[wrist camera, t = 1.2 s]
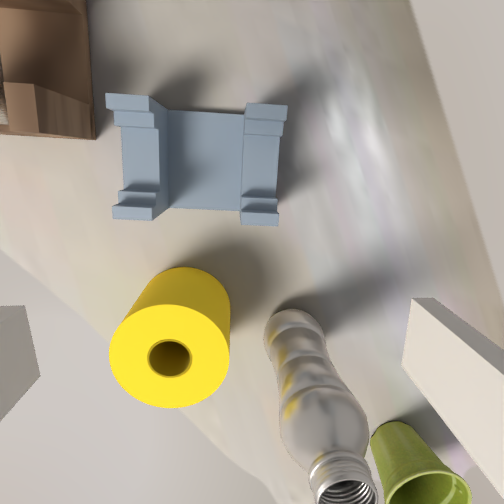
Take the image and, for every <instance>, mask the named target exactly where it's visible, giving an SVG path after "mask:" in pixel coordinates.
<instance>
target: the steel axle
mask: <svg viewBox="0 0 504 504" xmlns="http://www.w3.org/2000/svg"><path fill="white" fill-rule="evenodd" d="M3 82H4V77H3V70H2V62H1V55H0V125H9V121H8V113H7V106H6V99H5V91H4V84H3Z"/></svg>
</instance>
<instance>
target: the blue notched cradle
mask: <svg viewBox="0 0 504 504" xmlns="http://www.w3.org/2000/svg"><path fill="white" fill-rule="evenodd" d="M105 98H106V108H107V109H110V110H112V111H114V125H116V126H119V127H121V140H122V160H123V180H124V190H120V191H118V201H119V204H116V205H114V206H112V213H113V219H125V220H147V221H152V220H154V219H155V218H156V217H157V216H159V215H160V214H161V213H163V212H164V211H165V210H167V209H168V208H186V209H207V210H228V211H240V220H241V225H259V226H278V222H279V213H278V212H277V202H278V199H277V198H276V184H277V171H278V158H279V144H280V137H281V136H283V124H284V122H285V121H286V120H287V109H288V105H273V104H259V103H247V104H246V108H245V113H244V115H239V114H224V113H209V112H194V111H180V110H167V109H166V108H165V107H163V106H162V105H160V104H159V103H158V102H156V101H155V100H154V99H152V98H151V97H149V96H144V95H129V94H115V93H105Z"/></svg>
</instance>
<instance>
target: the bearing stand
mask: <svg viewBox="0 0 504 504" xmlns="http://www.w3.org/2000/svg"><path fill="white" fill-rule="evenodd" d="M0 55H1V62H2V70H3V77H4V82H3V84H4V91H5V99H6V106H7V113H8V121H9V125H0V134H3V135H20V136H37V137H53V138H70V139H87V140H96V134H95V120H94V105H93V91H92V77H91V63H90V48H89V34H88V20H87V6H86V0H0Z"/></svg>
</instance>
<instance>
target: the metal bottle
mask: <svg viewBox="0 0 504 504" xmlns="http://www.w3.org/2000/svg"><path fill="white" fill-rule="evenodd" d="M263 340H264V347H265V350H266V352H267V355H268V357H269V359H270V360H271V362H272V364H273V367H274V370H275V373H276V376H277V383H278V391H279V424H280V435H281V439H282V442H283V444H284V446H285V448H286V450H287V451H288V453H289V455H290V456H291V458H292V459H293V460H294V461H295V462H296V463H297V464H298V465H299V466H300V467H301V468H302V469H304V470H305V471H306V472H308V479H309V484H310V487H311V490H312V492H313V494H314V499H315V503H316V504H378V494H377V489H376V487H375V485H374V482H373V480H372V478H371V471H370V469H369V466H368V464H367V462H366V460H365V459H364V457H365V454H366V450H367V446H368V442H369V428H368V422H367V417H366V414H365V412H364V410H363V409H362V407H361V406H360V404H359V402H358V401H357V400H356V398H355V397H354V395H353V394H352V393H351V391H350V390H349V389H348V387H347V386H346V385H345V383H344V382H343V381H342V379H341V378H340V376H339V374H338V373H337V371H336V369H335V368H334V366H333V364H332V362H331V360H330V357H329V354H328V351H327V348H326V341H325V337H324V333H323V330H322V328H321V326H320V325H319V323H318V322H317V321H316V320H315V319H314V318H313V317H312V316H311V315H310V314H308V313H307V312H305V311H302V310H299V309H286V310H282V311H280V312H278V313H276V314H275V315H273V316H272V317H271V318H270V319H269V321H268V322H267V324H266V327H265V331H264V339H263Z"/></svg>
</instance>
